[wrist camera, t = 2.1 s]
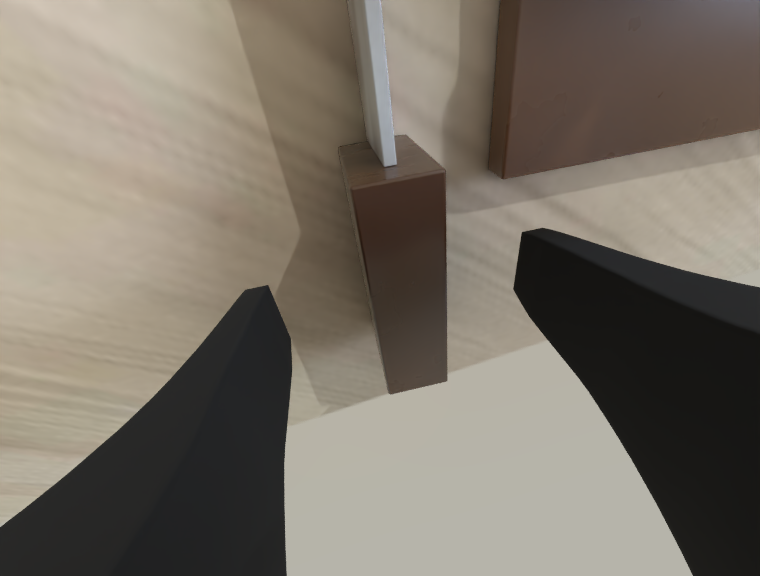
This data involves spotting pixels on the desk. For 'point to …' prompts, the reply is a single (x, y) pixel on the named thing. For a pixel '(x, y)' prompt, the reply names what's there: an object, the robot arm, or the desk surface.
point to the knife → (396, 222)
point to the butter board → (619, 78)
